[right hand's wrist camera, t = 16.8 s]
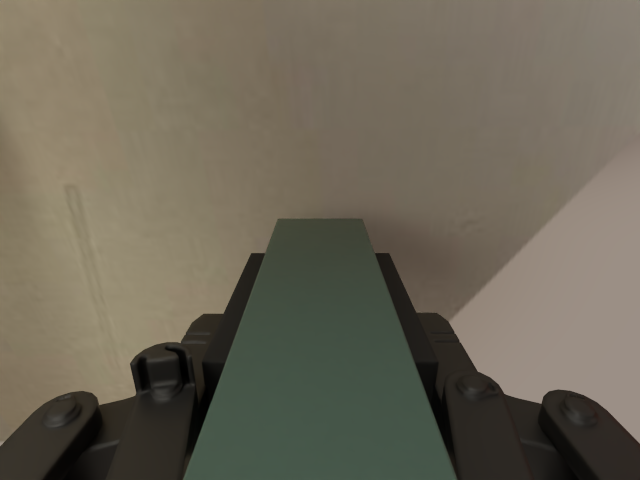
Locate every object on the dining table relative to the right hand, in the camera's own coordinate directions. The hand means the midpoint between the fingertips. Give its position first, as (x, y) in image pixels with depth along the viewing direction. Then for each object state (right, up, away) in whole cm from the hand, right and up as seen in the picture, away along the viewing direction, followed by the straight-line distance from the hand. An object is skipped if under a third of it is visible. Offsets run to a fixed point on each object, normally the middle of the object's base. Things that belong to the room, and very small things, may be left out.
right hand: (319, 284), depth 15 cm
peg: (0, +1, +3) cm, 3 cm away
